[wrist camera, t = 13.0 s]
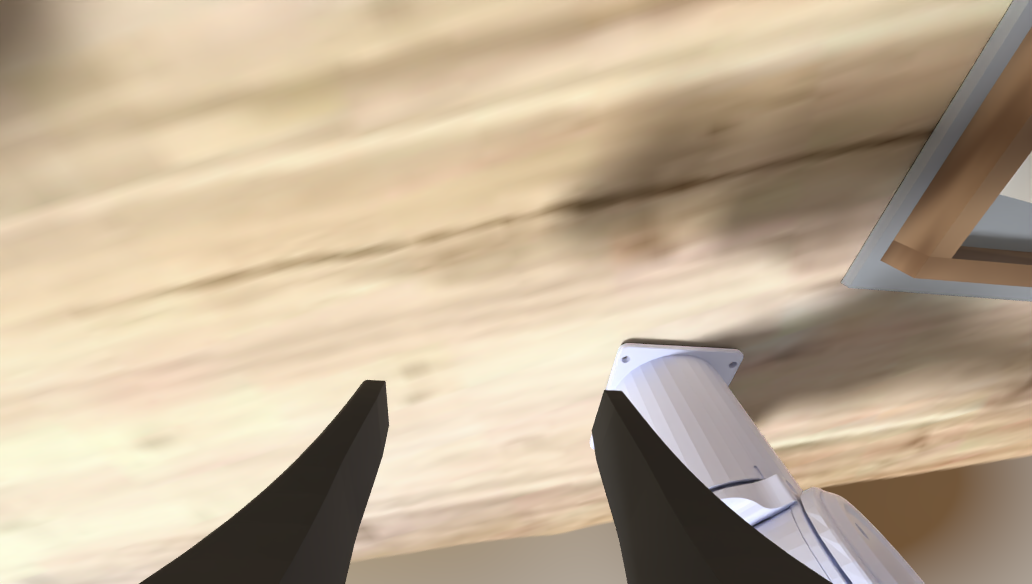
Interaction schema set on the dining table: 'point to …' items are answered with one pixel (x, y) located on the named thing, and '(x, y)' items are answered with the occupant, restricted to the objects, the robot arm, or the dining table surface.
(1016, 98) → the walnut frame
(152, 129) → the dining table surface
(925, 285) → the base board
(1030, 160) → the cream block
